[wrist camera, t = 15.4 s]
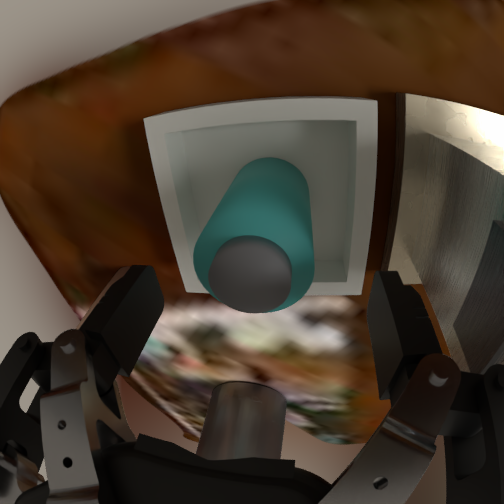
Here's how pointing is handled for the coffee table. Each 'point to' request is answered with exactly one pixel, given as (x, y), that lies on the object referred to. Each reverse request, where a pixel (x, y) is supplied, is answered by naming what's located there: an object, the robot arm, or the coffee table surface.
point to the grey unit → (451, 221)
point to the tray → (276, 146)
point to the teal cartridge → (259, 240)
